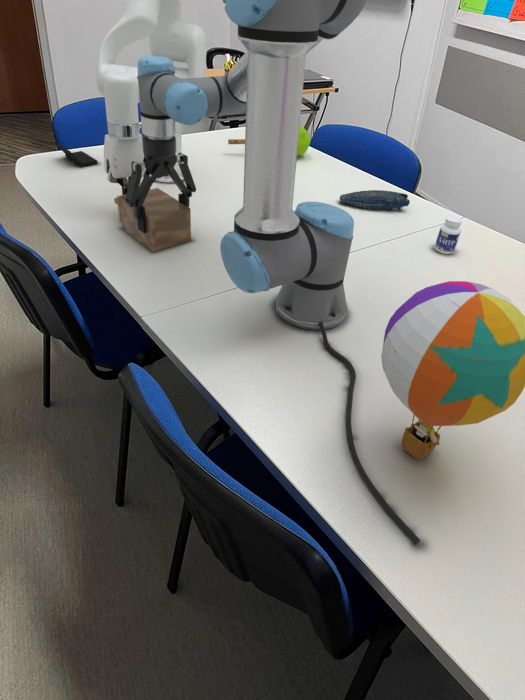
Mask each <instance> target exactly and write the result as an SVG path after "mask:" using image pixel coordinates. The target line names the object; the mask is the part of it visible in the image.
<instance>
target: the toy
mask: <svg viewBox="0 0 525 700" xmlns="http://www.w3.org/2000/svg"><path fill="white" fill-rule="evenodd" d="M380 357H381V358H380V359H381V367H382V370H383V372H384V375H385V377H386V379H387V381H388V384H389V386H390V388H391V390H392V393H393V394H394V395H395V397H396V398H397V399H398V400H399V401H400V402H401V403H402V405H403V406H404V407H405V408H407V410H408V411H409V412H410V413H412V414H413V415H412V422H411V424H410V427H409V426H407V427H405V428H404V432H403V435H402V437H401V442H400V445H401V446H400V447H401V448H402V450H404V451H406V453H408V454H409V455H410V456H412V457H413V458H414V459H416V460H417V461H421V460H423V459H425V458H426V457H427V456H428V455H429V454H430V453H432V452H433V451H434V450H435V448H436V447H437V446H439V445H440V442H439V441H440V439H441V434H439V431H440V429H441V428H442V427H456V426H467V425H476V424H479V423H482V422H484V421H486V420H488V419H490V418H492V417H495V416H497V415H498V414H501V413H503V412H505V411H507V410H508V409H509V408H510V407H511V406H513V405H514V404H515V403H516V402H517V400H518V399H519V397H520V396H521V394H522V393H523V391H524V390H525V315H524V314H523V313H522V312H521V310H519V308H518V307H517V306H516V305H515V303H514V302H513V301H511V299H510V298H509V297H507V296H506V295H504V294H503V293H501V292H499V291H498V290H496V289H494V288H493V287H489V286H487V285H484V284H481V283H476V282H472V281H465V280H454V281H453V280H449V281H445V282H441V283H437V284H433V285H429V286H426V287H423V288H422V289H419V290H418V291H416V292H415V293H414V294H412V295H411V296H410V297H409V298H408V299H407V300H405V302H404V303H403V304H401V305H400V306H399V307H398V308H397V309H396V310H395V312H394V313H393V314H392V316H391V317H390V318H389V320H388V322H387V325H386V328H385V330H384V335H383V343H382V349H381V355H380ZM415 417H416V418H417V419H418V421H416V422H415V423H414V420H415ZM434 427H438V429H436V431H435V428H434Z"/></svg>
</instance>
